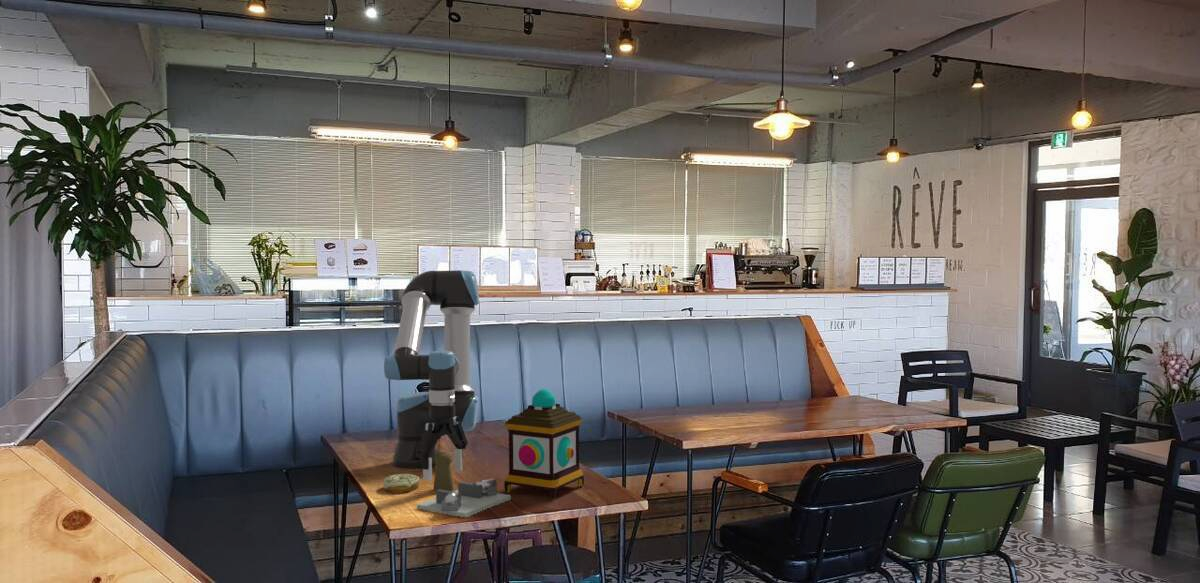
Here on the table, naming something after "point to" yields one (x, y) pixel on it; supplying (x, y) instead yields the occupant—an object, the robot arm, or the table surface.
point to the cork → (443, 472)
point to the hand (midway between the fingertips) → (443, 475)
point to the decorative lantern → (544, 446)
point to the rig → (465, 500)
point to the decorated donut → (401, 482)
